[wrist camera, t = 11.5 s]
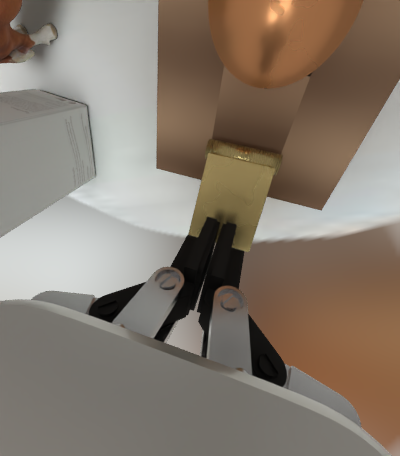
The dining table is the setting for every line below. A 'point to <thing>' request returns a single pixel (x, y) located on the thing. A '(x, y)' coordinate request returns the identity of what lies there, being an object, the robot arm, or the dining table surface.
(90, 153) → the skincare box
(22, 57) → the bull figurine
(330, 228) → the dining table surface
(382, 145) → the dining table surface
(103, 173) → the dining table surface
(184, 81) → the block
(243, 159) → the plate
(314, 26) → the orange-brown domed cylinder
